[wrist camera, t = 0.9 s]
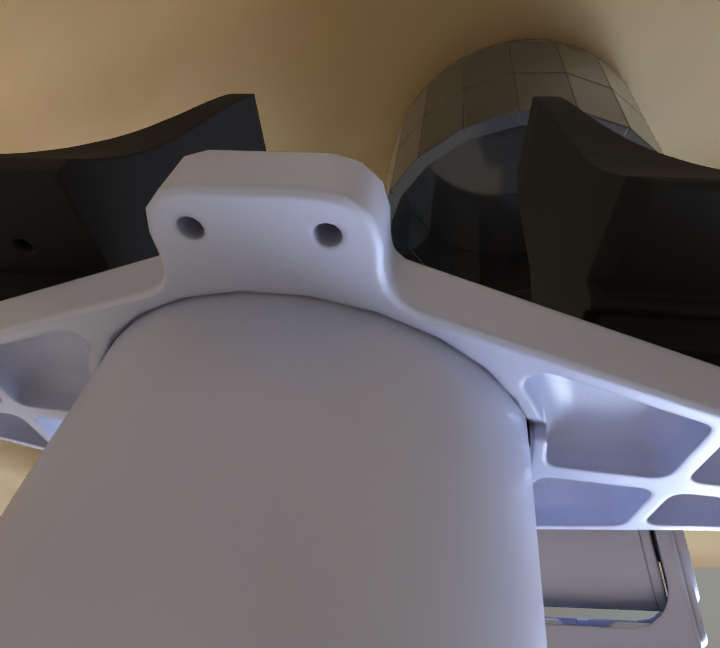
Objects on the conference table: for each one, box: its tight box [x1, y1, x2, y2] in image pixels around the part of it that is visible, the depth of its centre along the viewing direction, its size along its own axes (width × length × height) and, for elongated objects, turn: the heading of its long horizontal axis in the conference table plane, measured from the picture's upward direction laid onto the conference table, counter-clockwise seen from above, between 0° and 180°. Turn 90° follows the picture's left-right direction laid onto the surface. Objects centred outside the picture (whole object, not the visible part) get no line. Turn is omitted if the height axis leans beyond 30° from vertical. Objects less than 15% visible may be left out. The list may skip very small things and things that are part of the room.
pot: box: [385, 39, 663, 302], centre depth 21 cm, size 11×11×6 cm
